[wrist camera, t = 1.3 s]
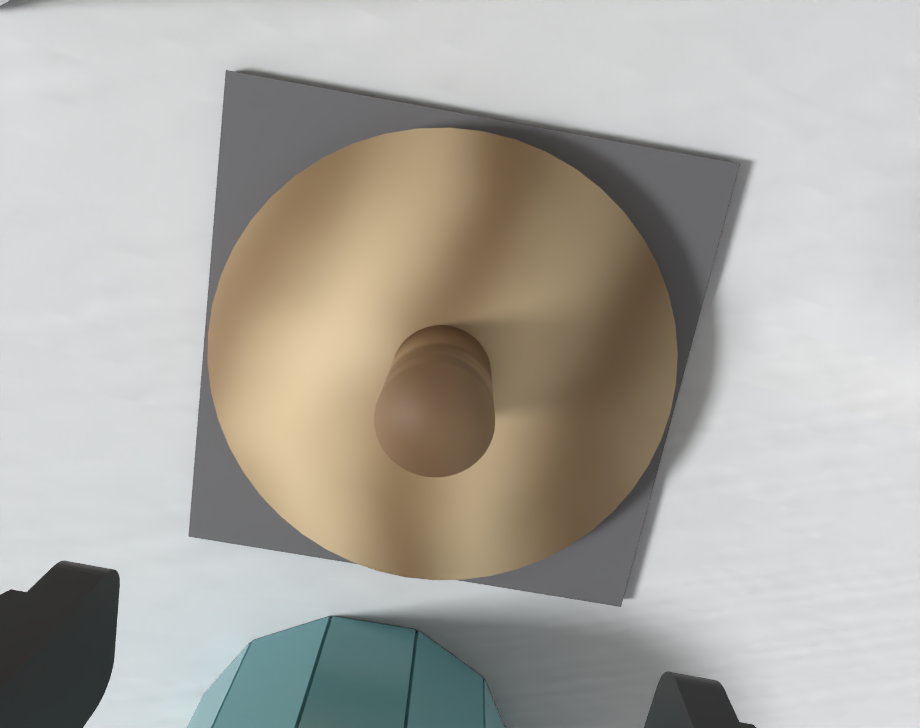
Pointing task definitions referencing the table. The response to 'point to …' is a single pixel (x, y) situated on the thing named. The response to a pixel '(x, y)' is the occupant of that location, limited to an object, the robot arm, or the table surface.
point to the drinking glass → (3, 1)
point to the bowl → (347, 682)
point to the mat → (362, 117)
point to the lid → (442, 353)
